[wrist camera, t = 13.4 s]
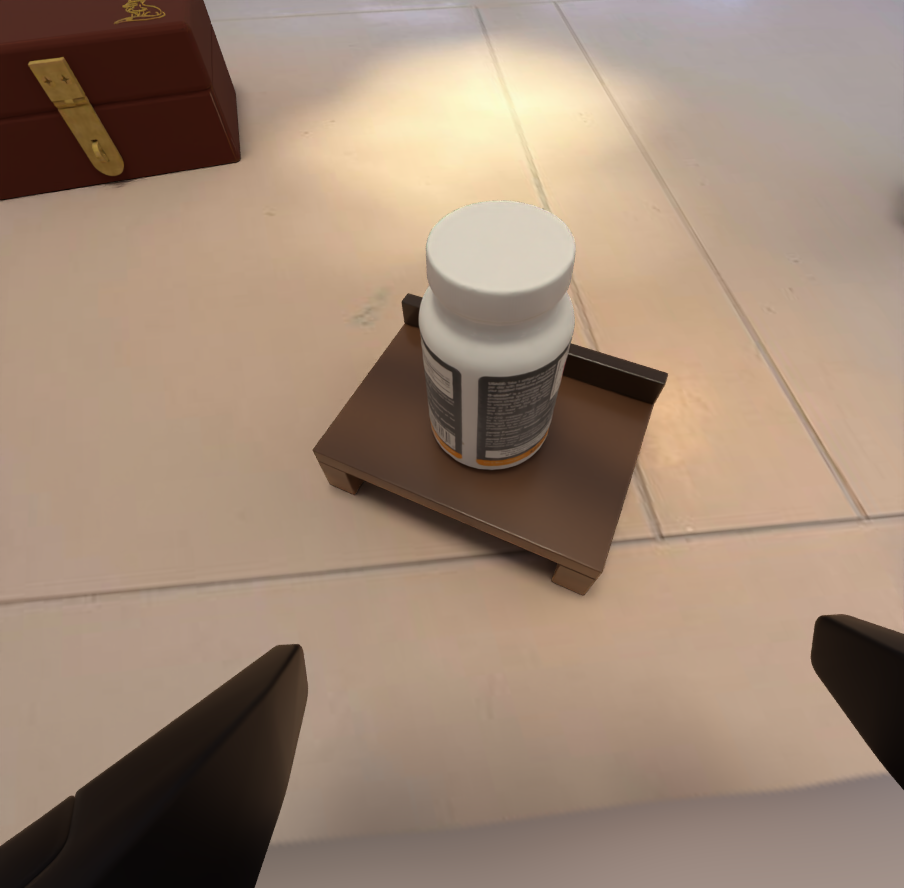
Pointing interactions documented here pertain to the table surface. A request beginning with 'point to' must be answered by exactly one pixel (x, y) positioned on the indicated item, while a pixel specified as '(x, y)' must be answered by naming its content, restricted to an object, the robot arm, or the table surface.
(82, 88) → the box
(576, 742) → the table surface
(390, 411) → the shelf
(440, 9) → the table surface
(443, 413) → the pill bottle
